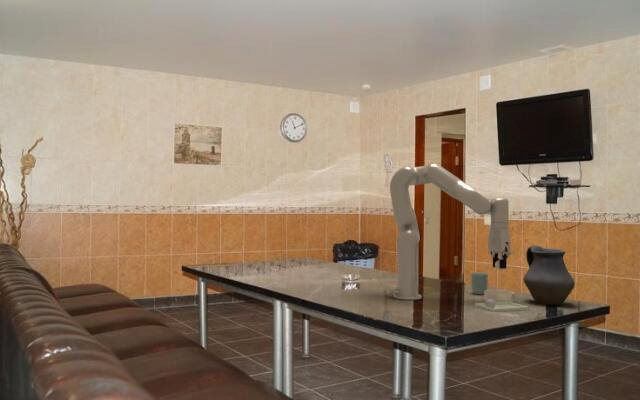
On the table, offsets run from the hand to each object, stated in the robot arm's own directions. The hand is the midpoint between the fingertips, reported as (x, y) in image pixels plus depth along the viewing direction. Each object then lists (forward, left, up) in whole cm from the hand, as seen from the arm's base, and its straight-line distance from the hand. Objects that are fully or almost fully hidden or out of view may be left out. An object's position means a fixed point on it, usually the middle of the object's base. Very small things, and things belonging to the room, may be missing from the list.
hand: (499, 267), depth 235 cm
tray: (-8, -12, -15) cm, 21 cm away
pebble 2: (0, 0, -1) cm, 1 cm away
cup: (+6, +22, -16) cm, 28 cm away
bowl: (+1, +1, -15) cm, 16 cm away
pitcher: (+20, -7, -16) cm, 26 cm away
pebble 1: (-14, -12, -15) cm, 24 cm away
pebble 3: (+2, +2, -15) cm, 15 cm away
